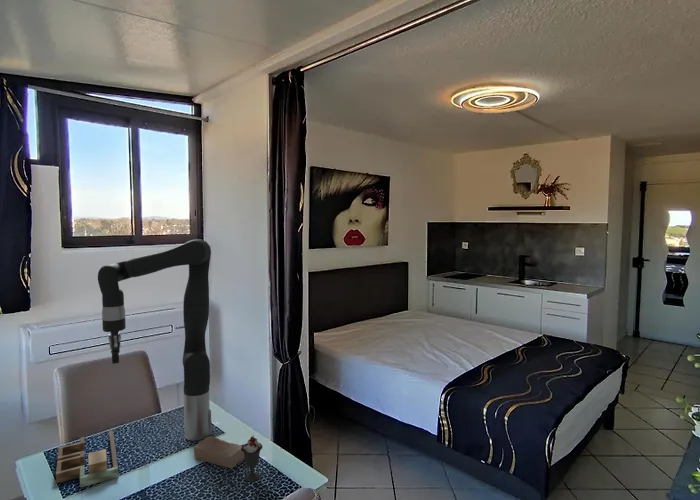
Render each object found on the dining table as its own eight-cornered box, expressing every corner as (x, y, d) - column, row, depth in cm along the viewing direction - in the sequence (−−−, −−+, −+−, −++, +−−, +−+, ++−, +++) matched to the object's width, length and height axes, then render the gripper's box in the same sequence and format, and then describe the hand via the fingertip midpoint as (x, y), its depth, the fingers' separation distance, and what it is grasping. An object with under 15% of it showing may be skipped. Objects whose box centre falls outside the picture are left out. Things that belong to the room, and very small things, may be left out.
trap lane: (113, 437, 162) (112, 430, 162) (118, 477, 138) (118, 468, 137) (59, 450, 153) (59, 442, 153) (55, 494, 129) (54, 485, 129)
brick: (246, 457, 150) (246, 444, 150) (231, 470, 142) (230, 456, 142) (209, 447, 157) (209, 434, 156) (192, 459, 149) (192, 446, 149)
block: (106, 466, 144) (105, 448, 143) (107, 478, 137) (106, 460, 137) (89, 470, 141) (88, 453, 141) (89, 483, 134) (88, 465, 134)
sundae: (252, 486, 134) (251, 440, 132) (237, 479, 137) (236, 434, 136) (267, 475, 139) (266, 431, 138) (252, 469, 143) (251, 425, 142)
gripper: (126, 319, 155) (128, 366, 157) (123, 312, 167) (125, 356, 168) (103, 322, 151) (105, 370, 153) (101, 315, 163) (103, 359, 164)
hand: (115, 362), depth 160 cm, fingers closed
